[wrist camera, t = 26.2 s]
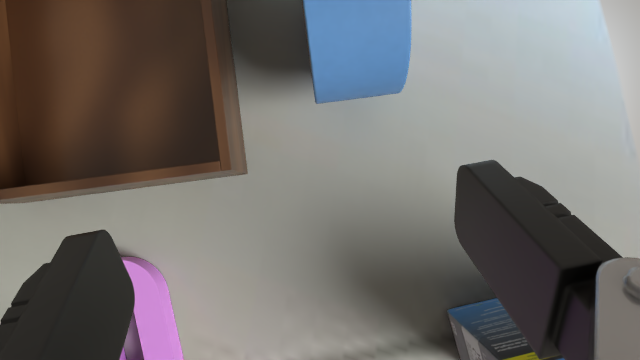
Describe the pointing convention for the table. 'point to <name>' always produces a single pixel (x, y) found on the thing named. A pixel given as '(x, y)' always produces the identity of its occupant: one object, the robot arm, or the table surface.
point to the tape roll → (357, 47)
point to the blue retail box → (489, 333)
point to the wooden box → (115, 96)
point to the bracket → (153, 312)
